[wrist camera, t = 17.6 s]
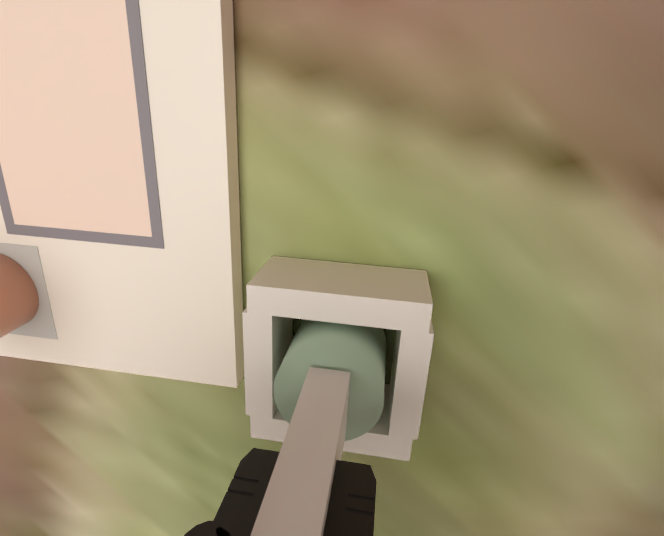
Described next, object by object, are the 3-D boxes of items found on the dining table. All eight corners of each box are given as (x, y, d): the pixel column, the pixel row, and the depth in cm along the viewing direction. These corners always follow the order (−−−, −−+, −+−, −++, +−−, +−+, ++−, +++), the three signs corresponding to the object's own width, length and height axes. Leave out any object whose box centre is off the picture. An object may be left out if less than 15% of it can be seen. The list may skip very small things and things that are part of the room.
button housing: (269, 388, 21) (246, 436, 18) (268, 255, 19) (241, 284, 15) (411, 407, 20) (414, 462, 17) (431, 270, 18) (438, 304, 15)
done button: (296, 374, 20) (273, 433, 16) (297, 297, 18) (272, 342, 15) (381, 385, 19) (378, 449, 16) (390, 307, 18) (388, 356, 14)
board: (-24, 338, 23) (-46, 349, 22) (-156, -101, 16) (-199, -118, 15) (245, 373, 21) (236, 388, 20) (229, -107, 14) (214, -127, 13)
